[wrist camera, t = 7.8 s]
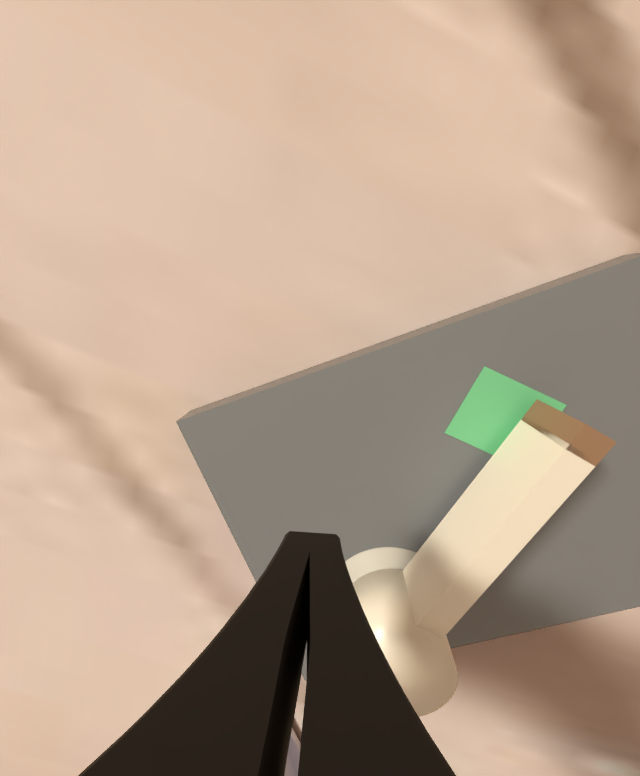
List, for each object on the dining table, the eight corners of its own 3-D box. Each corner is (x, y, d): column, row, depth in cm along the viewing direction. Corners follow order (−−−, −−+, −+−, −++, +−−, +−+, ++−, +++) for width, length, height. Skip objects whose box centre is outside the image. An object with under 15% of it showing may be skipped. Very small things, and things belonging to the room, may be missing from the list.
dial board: (672, 568, 17) (704, 594, 16) (307, 653, 20) (305, 681, 19) (624, 255, 14) (659, 249, 12) (190, 410, 17) (175, 422, 15)
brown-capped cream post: (403, 655, 17) (416, 733, 14) (327, 617, 17) (324, 689, 14) (594, 432, 14) (668, 471, 11) (503, 379, 13) (553, 403, 10)
